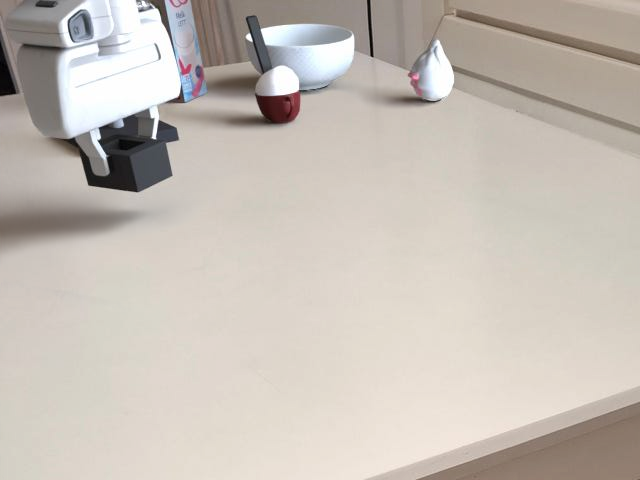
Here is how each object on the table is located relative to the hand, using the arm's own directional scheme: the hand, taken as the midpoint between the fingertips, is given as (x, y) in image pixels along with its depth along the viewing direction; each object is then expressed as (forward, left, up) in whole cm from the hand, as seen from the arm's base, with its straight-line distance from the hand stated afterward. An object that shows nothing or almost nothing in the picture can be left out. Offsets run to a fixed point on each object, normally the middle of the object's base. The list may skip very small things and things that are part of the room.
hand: (127, 164), depth 97 cm
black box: (0, 0, -2) cm, 2 cm away
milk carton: (+28, +49, -6) cm, 57 cm away
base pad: (+11, +32, -5) cm, 34 cm away
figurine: (+56, +20, -6) cm, 60 cm away
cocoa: (+33, +26, -6) cm, 42 cm away
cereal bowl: (+47, +42, -6) cm, 63 cm away
